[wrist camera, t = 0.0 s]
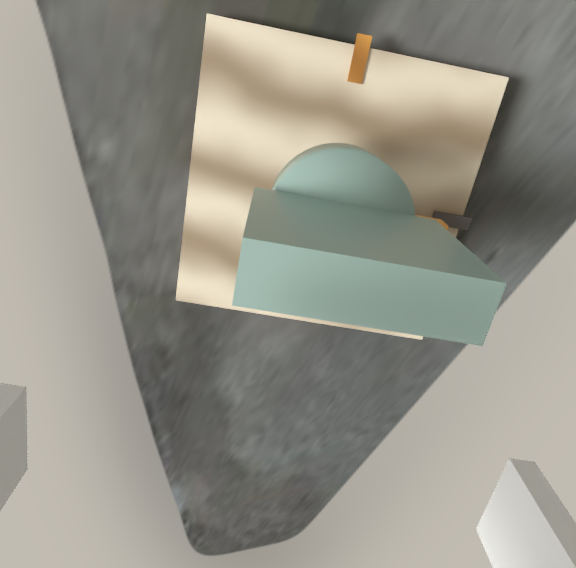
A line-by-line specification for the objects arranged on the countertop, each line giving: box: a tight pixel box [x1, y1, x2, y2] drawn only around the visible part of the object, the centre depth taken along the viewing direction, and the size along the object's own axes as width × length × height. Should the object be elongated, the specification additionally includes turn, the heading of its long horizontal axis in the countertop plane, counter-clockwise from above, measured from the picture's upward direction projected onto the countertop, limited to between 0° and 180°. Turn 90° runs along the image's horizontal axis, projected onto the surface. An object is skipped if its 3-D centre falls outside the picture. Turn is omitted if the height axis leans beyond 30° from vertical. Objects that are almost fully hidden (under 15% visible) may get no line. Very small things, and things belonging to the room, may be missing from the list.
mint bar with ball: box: [232, 143, 507, 346], centre depth 27 cm, size 9×13×14 cm
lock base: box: [176, 14, 509, 340], centre depth 36 cm, size 22×22×6 cm
